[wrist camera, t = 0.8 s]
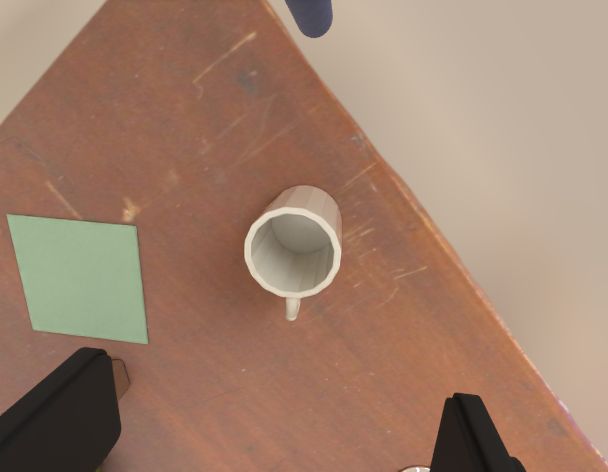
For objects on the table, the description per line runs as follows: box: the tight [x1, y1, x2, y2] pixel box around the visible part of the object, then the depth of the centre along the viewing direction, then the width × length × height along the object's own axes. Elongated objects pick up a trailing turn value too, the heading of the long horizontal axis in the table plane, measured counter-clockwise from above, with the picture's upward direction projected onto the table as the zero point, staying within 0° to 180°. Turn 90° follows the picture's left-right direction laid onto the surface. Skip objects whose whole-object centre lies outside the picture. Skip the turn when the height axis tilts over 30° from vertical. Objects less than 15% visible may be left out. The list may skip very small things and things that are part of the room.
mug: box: [244, 185, 342, 321], centre depth 29 cm, size 10×7×8 cm
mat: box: [7, 214, 148, 344], centre depth 38 cm, size 14×14×1 cm
